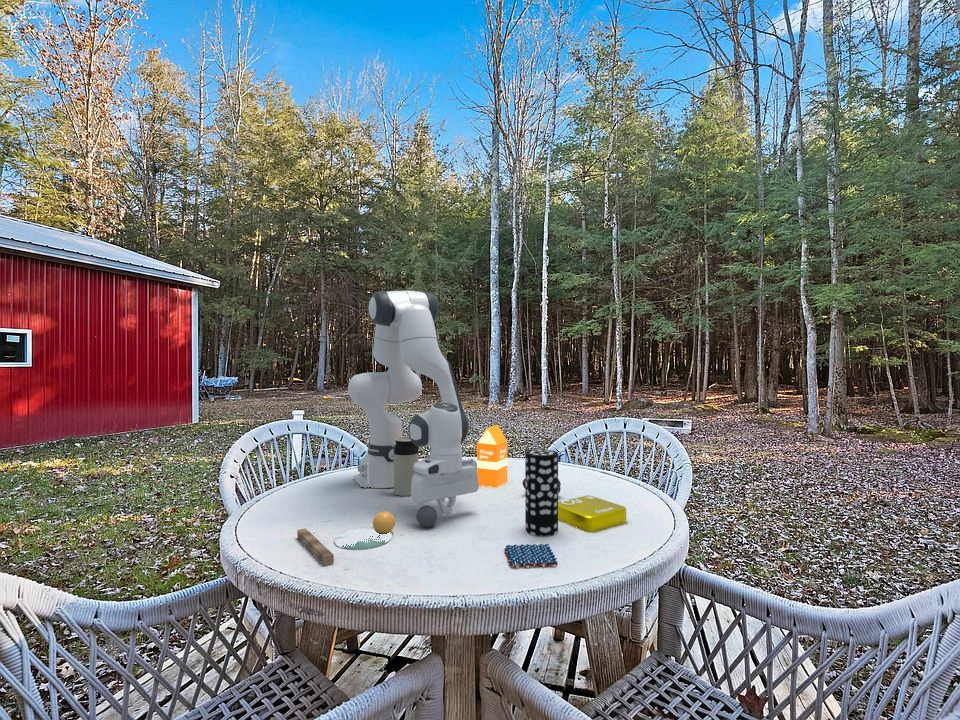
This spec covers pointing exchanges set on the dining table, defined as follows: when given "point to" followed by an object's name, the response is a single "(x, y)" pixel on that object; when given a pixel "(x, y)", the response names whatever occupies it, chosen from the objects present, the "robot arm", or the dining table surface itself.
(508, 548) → the woven mat
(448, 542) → the dining table surface
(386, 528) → the orange ball
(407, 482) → the travel mug
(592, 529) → the element tile
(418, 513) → the dark grey round ball
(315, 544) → the brown wooden bar
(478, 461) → the orange juice
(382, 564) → the dining table surface
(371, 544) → the teal flat disc
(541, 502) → the spotted tube
